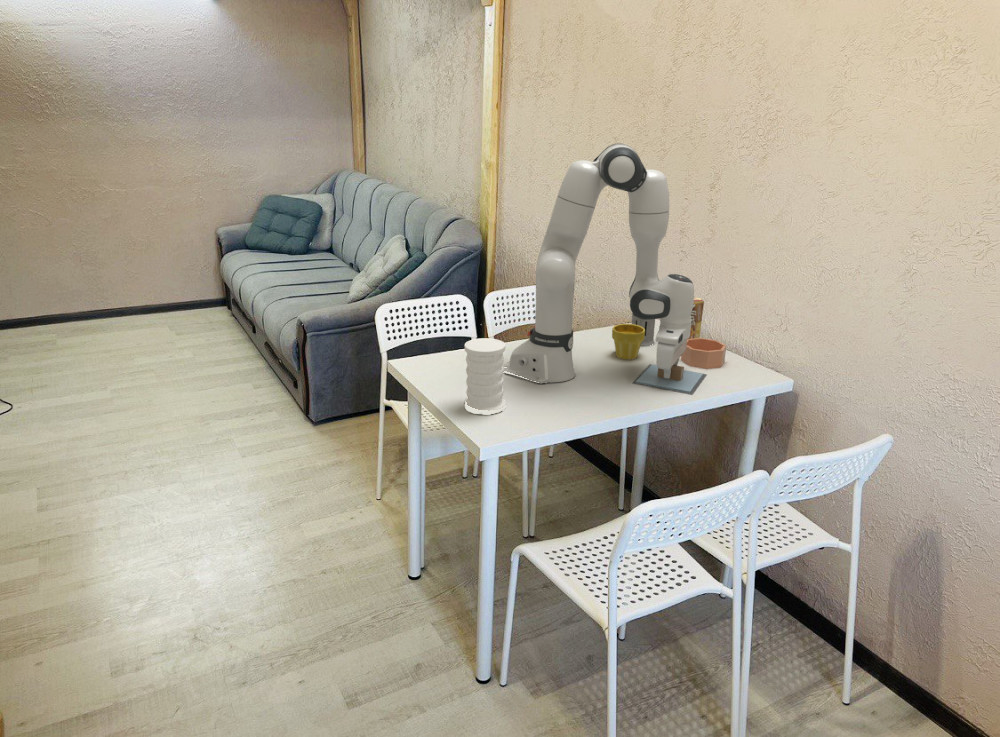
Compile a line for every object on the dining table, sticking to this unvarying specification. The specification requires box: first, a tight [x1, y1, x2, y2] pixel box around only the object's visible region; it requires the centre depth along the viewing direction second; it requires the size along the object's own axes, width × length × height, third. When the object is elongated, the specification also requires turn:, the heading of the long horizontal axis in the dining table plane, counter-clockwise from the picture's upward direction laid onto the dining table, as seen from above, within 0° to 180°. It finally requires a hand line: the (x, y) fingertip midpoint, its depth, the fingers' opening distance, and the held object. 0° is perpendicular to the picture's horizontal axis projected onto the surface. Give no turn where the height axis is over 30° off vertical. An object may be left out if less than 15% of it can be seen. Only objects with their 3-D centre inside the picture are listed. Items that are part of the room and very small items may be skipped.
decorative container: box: [464, 337, 507, 411], centre depth 190 cm, size 12×12×18 cm
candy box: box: [688, 297, 705, 339], centre depth 242 cm, size 9×4×15 cm, turn 103°
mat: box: [631, 364, 708, 396], centre depth 212 cm, size 18×18×1 cm
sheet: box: [636, 364, 704, 393], centre depth 211 cm, size 16×16×4 cm
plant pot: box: [611, 323, 645, 360], centre depth 229 cm, size 10×10×10 cm
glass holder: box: [631, 312, 656, 347], centre depth 239 cm, size 9×14×15 cm, turn 158°
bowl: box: [680, 337, 727, 370], centre depth 225 cm, size 13×13×6 cm
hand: (670, 373), depth 211 cm, fingers open, 5 cm apart
